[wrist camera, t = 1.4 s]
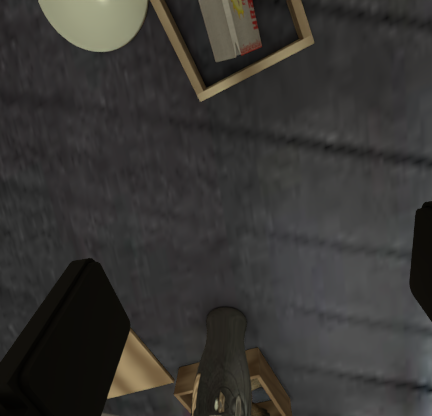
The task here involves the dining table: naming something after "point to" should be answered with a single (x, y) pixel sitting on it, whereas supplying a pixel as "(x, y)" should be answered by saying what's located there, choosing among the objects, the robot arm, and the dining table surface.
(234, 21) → the gable top carton
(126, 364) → the wooden board
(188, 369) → the display tray
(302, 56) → the dining table surface
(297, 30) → the holder
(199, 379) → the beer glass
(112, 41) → the coaster
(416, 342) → the dining table surface
